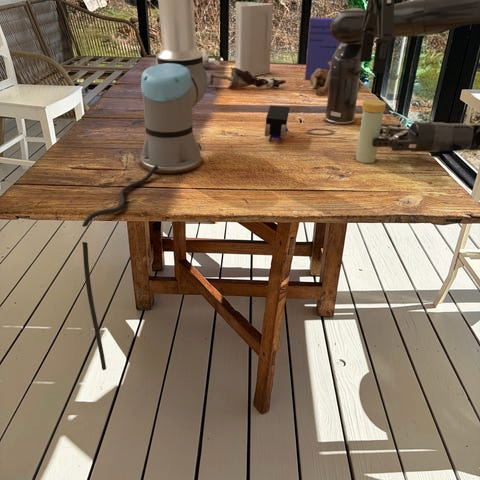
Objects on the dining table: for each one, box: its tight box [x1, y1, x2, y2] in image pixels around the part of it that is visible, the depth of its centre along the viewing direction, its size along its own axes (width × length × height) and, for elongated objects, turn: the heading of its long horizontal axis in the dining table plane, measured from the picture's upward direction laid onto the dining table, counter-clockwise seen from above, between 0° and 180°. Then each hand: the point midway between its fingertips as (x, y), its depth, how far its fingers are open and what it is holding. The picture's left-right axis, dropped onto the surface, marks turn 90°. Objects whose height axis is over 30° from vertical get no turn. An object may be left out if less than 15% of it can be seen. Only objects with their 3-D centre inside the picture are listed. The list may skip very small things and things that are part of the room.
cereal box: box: [304, 17, 339, 80], centre depth 202 cm, size 17×5×24 cm, turn 86°
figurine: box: [209, 66, 287, 89], centre depth 190 cm, size 24×8×30 cm
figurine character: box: [264, 105, 290, 143], centre depth 140 cm, size 7×8×15 cm
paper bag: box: [234, 1, 274, 77], centre depth 210 cm, size 19×15×28 cm
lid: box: [361, 99, 387, 113], centre depth 120 cm, size 6×6×2 cm
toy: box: [155, 51, 221, 68], centre depth 223 cm, size 24×25×7 cm
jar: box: [355, 109, 384, 164], centre depth 123 cm, size 5×5×15 cm
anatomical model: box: [309, 61, 331, 96], centre depth 186 cm, size 13×9×15 cm
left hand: (371, 67), depth 116 cm, fingers open, 13 cm apart
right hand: (368, 136), depth 124 cm, fingers open, 8 cm apart
